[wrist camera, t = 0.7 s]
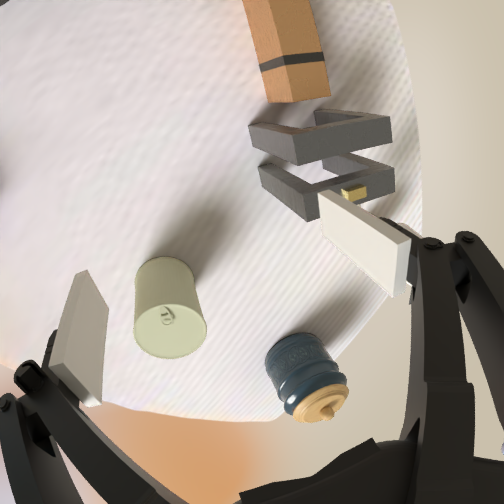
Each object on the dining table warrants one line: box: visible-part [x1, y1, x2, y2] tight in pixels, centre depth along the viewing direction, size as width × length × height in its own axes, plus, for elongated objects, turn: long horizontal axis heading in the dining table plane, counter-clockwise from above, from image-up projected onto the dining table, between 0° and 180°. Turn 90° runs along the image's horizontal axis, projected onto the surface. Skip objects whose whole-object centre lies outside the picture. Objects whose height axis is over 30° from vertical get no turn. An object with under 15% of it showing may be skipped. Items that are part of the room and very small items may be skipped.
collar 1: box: [248, 109, 392, 166], centre depth 33 cm, size 3×12×14 cm, turn 103°
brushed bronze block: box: [242, 0, 331, 103], centre depth 28 cm, size 24×5×8 cm, turn 13°
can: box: [133, 257, 207, 359], centre depth 39 cm, size 9×9×12 cm
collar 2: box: [258, 153, 395, 222], centre depth 36 cm, size 3×12×15 cm, turn 103°
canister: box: [265, 333, 349, 423], centre depth 53 cm, size 13×13×18 cm
